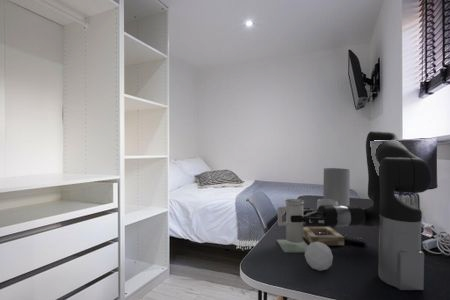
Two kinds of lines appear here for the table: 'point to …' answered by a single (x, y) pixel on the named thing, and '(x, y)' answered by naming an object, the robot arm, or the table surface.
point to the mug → (326, 202)
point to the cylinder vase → (337, 185)
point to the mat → (292, 246)
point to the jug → (292, 228)
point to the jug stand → (323, 236)
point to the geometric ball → (318, 256)
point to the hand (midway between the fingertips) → (288, 216)
